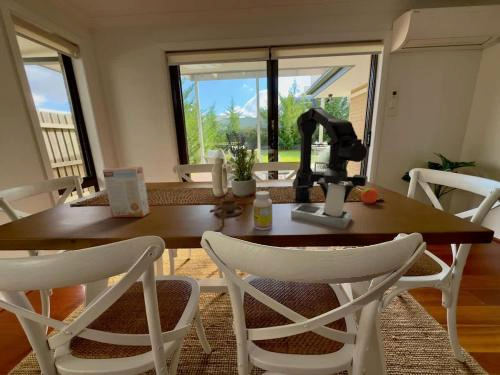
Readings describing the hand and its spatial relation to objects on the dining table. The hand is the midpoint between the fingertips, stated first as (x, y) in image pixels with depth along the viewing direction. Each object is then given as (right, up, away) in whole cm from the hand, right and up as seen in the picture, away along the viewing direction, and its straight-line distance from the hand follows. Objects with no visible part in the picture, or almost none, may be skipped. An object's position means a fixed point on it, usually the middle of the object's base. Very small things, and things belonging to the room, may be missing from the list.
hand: (335, 201), depth 79 cm
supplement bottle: (-27, -9, -1) cm, 28 cm away
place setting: (-42, -7, +12) cm, 45 cm away
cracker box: (-83, -7, +16) cm, 85 cm away
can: (0, -5, +2) cm, 5 cm away
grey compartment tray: (-4, -7, +5) cm, 9 cm away
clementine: (+22, -2, +20) cm, 30 cm away
